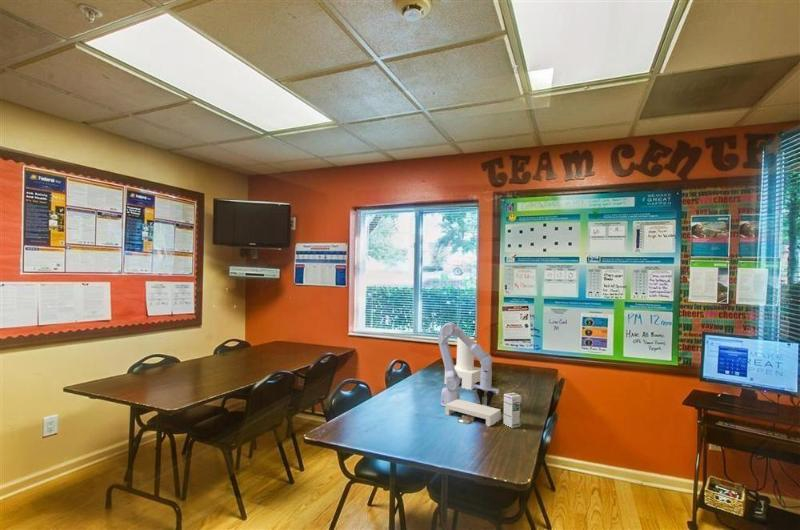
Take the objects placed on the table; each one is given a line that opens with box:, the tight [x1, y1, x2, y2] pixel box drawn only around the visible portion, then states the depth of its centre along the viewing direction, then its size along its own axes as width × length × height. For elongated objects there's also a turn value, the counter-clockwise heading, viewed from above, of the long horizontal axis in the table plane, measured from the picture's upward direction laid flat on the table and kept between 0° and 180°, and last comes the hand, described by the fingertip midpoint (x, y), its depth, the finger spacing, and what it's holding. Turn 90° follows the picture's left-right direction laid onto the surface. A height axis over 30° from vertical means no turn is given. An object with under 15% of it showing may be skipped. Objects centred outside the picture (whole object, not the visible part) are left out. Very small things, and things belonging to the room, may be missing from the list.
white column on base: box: [444, 335, 481, 391], centre depth 262 cm, size 19×19×30 cm
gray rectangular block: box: [461, 394, 491, 422], centre depth 205 cm, size 22×6×7 cm, turn 142°
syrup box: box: [503, 392, 522, 429], centre depth 191 cm, size 6×6×14 cm
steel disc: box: [457, 416, 472, 425], centre depth 194 cm, size 6×6×1 cm
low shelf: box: [444, 399, 502, 427], centre depth 200 cm, size 24×12×5 cm, turn 52°
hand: (485, 404), depth 211 cm, fingers closed on gray rectangular block, 3 cm apart
